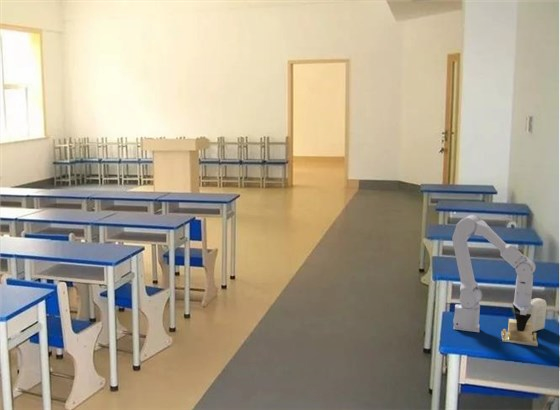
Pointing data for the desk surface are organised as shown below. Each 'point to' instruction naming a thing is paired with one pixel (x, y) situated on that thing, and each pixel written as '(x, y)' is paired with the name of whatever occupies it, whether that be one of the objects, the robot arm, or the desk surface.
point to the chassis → (507, 338)
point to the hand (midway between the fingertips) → (519, 327)
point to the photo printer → (537, 313)
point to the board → (519, 334)
